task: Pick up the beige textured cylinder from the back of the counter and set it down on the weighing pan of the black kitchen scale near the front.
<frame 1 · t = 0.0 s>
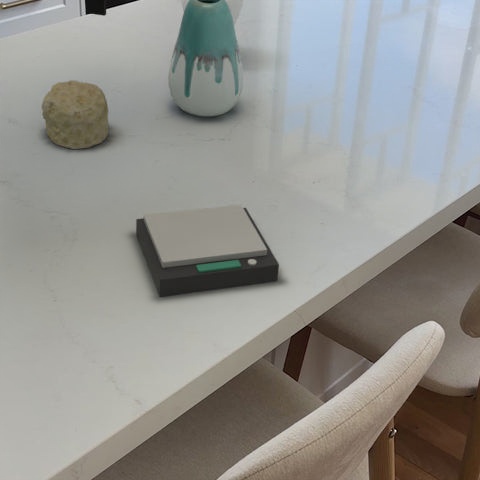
vase: (204, 109, 141), on the kitchen island
scale: (205, 257, 106), on the kitchen island
beige textured cylinder: (76, 135, 130), on the kitchen island
cup: (209, 61, 157), on the kitchen island
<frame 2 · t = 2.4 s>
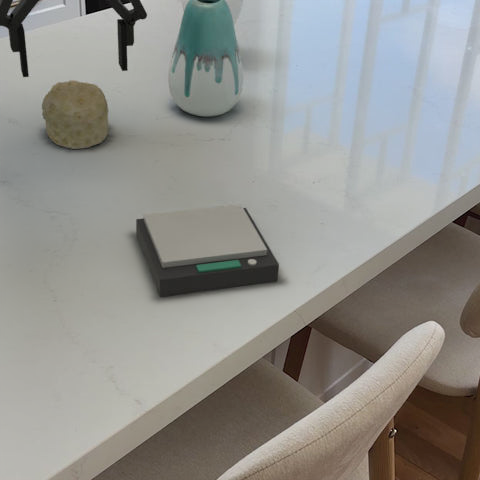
hand: (74, 70, 124), 10 cm above the kitchen island, tool pointing down, fingers open, 13 cm apart
nothing on the kitchen island moved.
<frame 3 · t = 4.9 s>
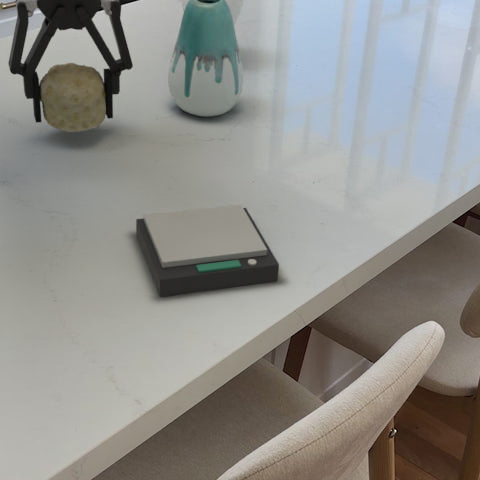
hand: (73, 116, 128), 3 cm above the kitchen island, tool pointing down, fingers closed on beige textured cylinder, 9 cm apart
beige textured cylinder: (73, 119, 128), point 3 cm above the kitchen island, touching gripper
everything else where it was.
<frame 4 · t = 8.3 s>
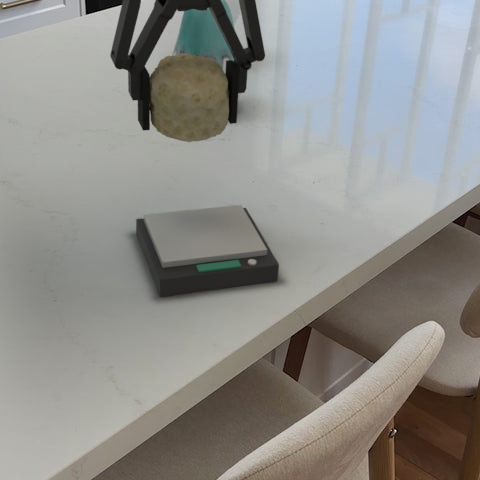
hand: (187, 121, 101), 16 cm above the kitchen island, tool pointing down, fingers closed on beige textured cylinder, 9 cm apart
beige textured cylinder: (187, 125, 101), point 15 cm above the kitchen island, touching gripper
everything else where it was.
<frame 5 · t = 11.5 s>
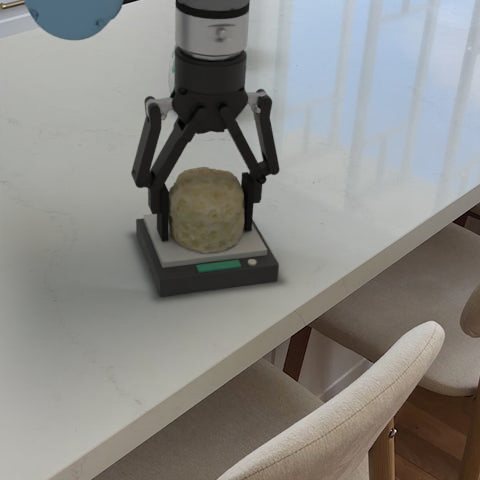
hand: (204, 230, 105), 3 cm above the kitchen island, tool pointing down, fingers closed on beige textured cylinder, 9 cm apart
beige textured cylinder: (204, 233, 105), point 3 cm above the kitchen island, touching gripper, scale
everything else where it was.
when the fingers open (3 cm above the kitchen island, at t = 11.9 s): beige textured cylinder stays where it is, resting on scale.
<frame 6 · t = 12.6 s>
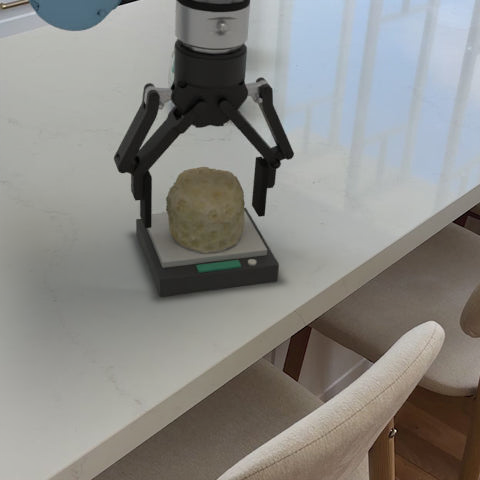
hand: (203, 216, 104), 5 cm above the kitchen island, tool pointing down, fingers open, 13 cm apart
beige textured cylinder: (204, 233, 105), point 3 cm above the kitchen island, touching scale
everything else where it was.
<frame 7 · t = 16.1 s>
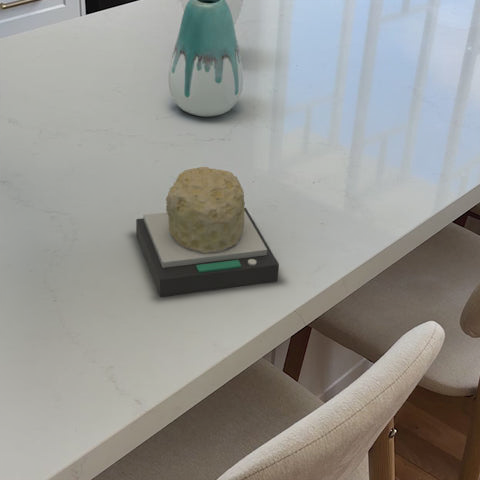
nothing on the kitchen island moved.
at the end: beige textured cylinder inside the target area on the scale (0.2 cm from its centre), point 3.0 cm above the scale's base; beige textured cylinder tilted 0°; the gripper is holding nothing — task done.
